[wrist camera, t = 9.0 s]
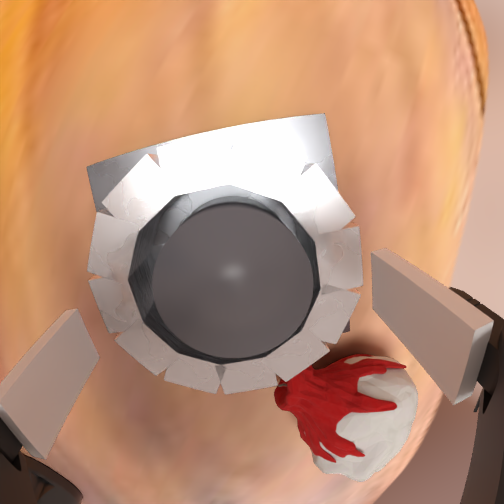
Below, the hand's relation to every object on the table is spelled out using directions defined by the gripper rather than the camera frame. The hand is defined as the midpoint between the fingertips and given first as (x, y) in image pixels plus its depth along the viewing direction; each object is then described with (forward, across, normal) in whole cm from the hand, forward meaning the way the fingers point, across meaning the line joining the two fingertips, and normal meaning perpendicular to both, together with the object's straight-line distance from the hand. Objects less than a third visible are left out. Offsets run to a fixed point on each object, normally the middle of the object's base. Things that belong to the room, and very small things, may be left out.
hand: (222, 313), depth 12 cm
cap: (+8, 0, 0) cm, 8 cm away
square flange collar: (+9, 0, 0) cm, 9 cm away
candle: (+9, +7, -14) cm, 18 cm away
